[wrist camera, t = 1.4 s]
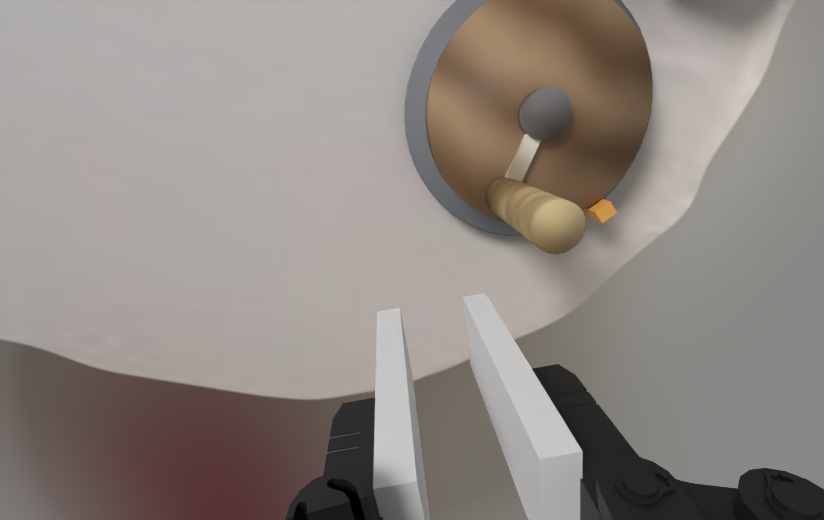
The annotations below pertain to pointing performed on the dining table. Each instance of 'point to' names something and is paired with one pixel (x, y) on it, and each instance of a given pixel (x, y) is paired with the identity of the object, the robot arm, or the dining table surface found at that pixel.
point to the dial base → (416, 124)
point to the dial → (539, 112)
